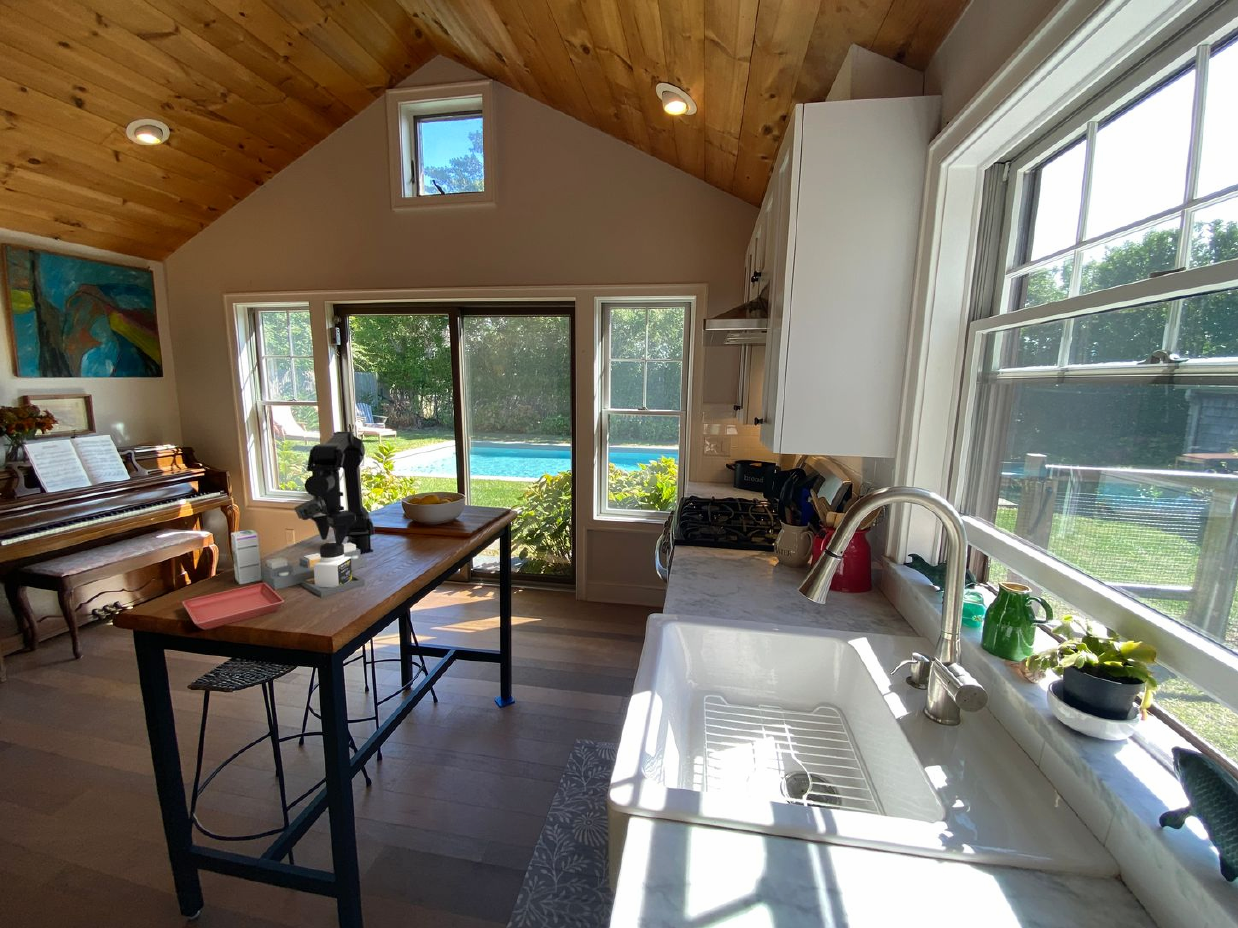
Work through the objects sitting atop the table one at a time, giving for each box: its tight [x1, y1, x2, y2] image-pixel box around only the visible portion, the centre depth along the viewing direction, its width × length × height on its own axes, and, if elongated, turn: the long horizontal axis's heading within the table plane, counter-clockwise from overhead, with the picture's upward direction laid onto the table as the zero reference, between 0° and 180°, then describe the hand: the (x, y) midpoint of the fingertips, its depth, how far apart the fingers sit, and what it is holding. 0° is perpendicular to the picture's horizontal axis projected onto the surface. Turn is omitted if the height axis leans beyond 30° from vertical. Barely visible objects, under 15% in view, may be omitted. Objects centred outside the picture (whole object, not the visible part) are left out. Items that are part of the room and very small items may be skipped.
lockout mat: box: [301, 573, 366, 598], centre depth 150 cm, size 12×12×2 cm
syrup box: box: [230, 529, 263, 585], centre depth 152 cm, size 6×6×14 cm
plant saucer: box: [181, 582, 285, 631], centre depth 132 cm, size 18×18×3 cm
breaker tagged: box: [303, 552, 320, 561], centre depth 160 cm, size 4×4×2 cm
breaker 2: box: [343, 542, 356, 553], centre depth 167 cm, size 4×4×2 cm
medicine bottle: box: [314, 541, 353, 588], centre depth 150 cm, size 7×7×12 cm
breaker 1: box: [265, 556, 288, 569], centre depth 152 cm, size 4×4×2 cm
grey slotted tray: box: [261, 548, 367, 591], centre depth 159 cm, size 26×9×5 cm, turn 143°
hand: (331, 542), depth 149 cm, fingers open, 9 cm apart
